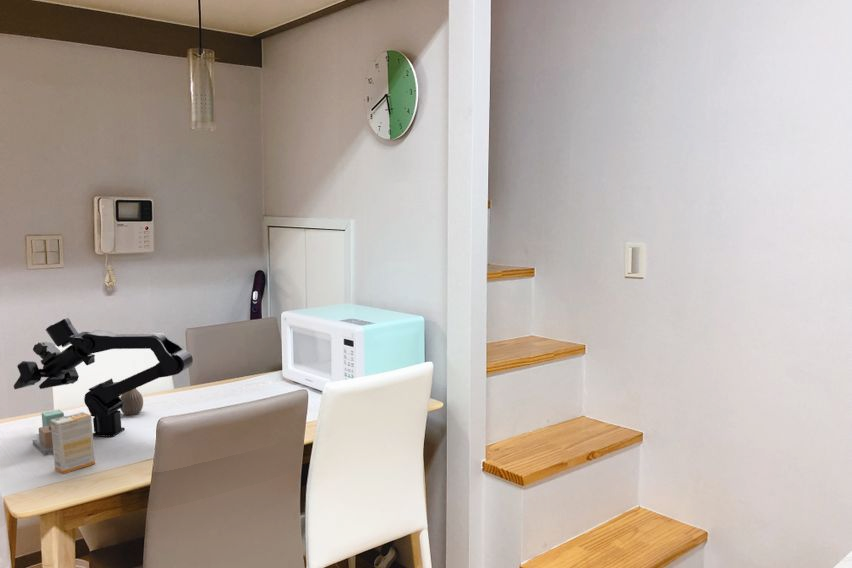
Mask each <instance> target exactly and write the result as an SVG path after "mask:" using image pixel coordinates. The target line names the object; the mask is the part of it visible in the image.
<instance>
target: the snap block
mask: <svg viewBox="0 0 852 568" xmlns="http://www.w3.org/2000/svg"><path fill="white" fill-rule="evenodd" d="M64 416H65V412H63V411H62V410H61V409H53V410H49V411H44V412H41V422H42V424H41V425H42V427H45V426H49V425H51V421H50V420H52V419H56V418H60V417H64Z"/></svg>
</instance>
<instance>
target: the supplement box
mask: <svg viewBox="0 0 852 568" xmlns="http://www.w3.org/2000/svg"><path fill="white" fill-rule="evenodd" d="M50 421H51V432H52V442H53V453H52V454H53V460H54V469H55V471H57V472H59V473H61V474H68V473H70V472H73V471H76V470H79V469H83V468H86V467H90V466H93V465H95V464H96V458H95V446H94V445H95V443H94V436H93V433H94V431H93V419H92V416H91V414H90V413H87V412H84V411H81V412H77V413H73V414H69V415H66V416H65V415H64V417H60V418H56V419H52V420H50Z"/></svg>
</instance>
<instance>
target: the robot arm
mask: <svg viewBox="0 0 852 568" xmlns="http://www.w3.org/2000/svg"><path fill="white" fill-rule="evenodd" d="M45 331H46V333H47V335H49V337H50V339H51V340H52V341H53V343H52V342H49V341H41V342H38V343H36V344H34V345H33V347H32V351H33V352H34V353H35V354H36V355H37V356H39V358H41V360H40V363H41V365H43V366H42V368H39V367H38V363H37V361H27V360H22V361H21V362H19V363H18V364H17V365H16V367H17V369H18V371H19V377H18V378H17V380H16V382H15V383H14V384H13V388H14V390H19V389H23V388H27V387H31V386H35V385H36V384H37V383H39V382H41V380H42V378H43V379H45V378H46V379H45V380H44V381H42V382H41V383H40V384H39V386H38V388H39V389H40V390H42V389H49V388H52V387H59V386H65V385H71V384H74V383H76V382H78V381H79V373H78V371H77V369H76V367H77V366H78V365H81V364H82V363H84V364H85V366H89V365H92V364H94V363H95V362H96V361H95V357H96V355H95V354H96V353H101V352H105V351H110V350H130V349H131V350H132V349H133V350H135V349H137V350H138V349H142V350H145V349H149V350H151V351H152V353H153V354H154V356H155V358H156V360H157V361H158V363H156V364H155V365H153V366H151V367H149V368H147V369H144V370H142V371H139V372H137V373H135V374H133V375H131V376H129V377H126V378H124V379H122V380H120V381H115V382H114V381H113V378H110V379H108V380H105V381H103V382H101V383H98V384H96V385H94V386H92V387H89V388H88V391H87V392H86V393H85V394H84V398H83V401H84V404H85V406H86V407H87V409H88V411H89V415H91V417H92V426H93V437H115V436H116V435H118V434H120V433H121V432H122V431H124V430H125V427H123V426H122V417H121V416H122V415H121V414H122V413H121V409H120V408H122V407H123V404H124V401H123V400H122V399H121V398H120V397H121V395H122V394H124V393H126V392H128V391H131V390H133V389H135V388H136V389H137V388H139V387H141V386H143V385H144V386H145V385H146V384H148V383H150V382H153V381H155V380H157V379H160V378H166V377H168V378H169V377H172V376H176V375H179V374H181V373H182V372H184V371H186V370H187V369H189V368H190V367H192V365H193V362H194V360H193V355H192V353H191V352H189V350H186V349H184V348H183V347H182V346H181V345H180V344H178V343H177V342H174V341H173V340H171V339H170V338H168V337H167V336H166V335H165V334H164V333H162V332H158V333H157V332H156V333H125V334H124V333H120V334H119V333H115V332H112V331H110V330H109V331H108V330H102V329H97V330H96V329H95V330H93V331H91V332H90V331H81V332H78V331H77V329H76V327H74V325H73V323H72V321H71V319H70V318H69V317H66V318H62V319H61V320H60V321H57V322H55V323H54V324H50V325H49V326H48V327H47V328H46V329H45ZM60 347H62V348H65V347H66V348H65V349H63V350H62V351H61V350H60V349H59V348H60Z"/></svg>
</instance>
